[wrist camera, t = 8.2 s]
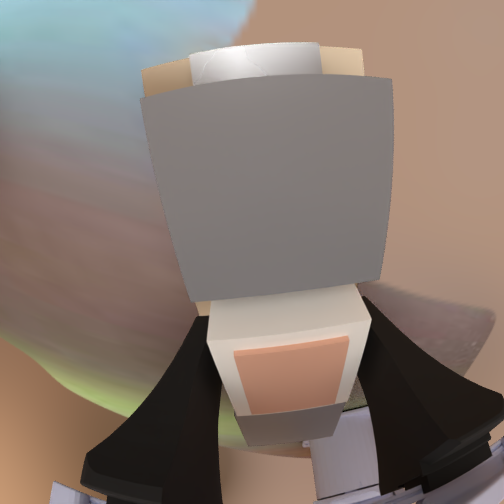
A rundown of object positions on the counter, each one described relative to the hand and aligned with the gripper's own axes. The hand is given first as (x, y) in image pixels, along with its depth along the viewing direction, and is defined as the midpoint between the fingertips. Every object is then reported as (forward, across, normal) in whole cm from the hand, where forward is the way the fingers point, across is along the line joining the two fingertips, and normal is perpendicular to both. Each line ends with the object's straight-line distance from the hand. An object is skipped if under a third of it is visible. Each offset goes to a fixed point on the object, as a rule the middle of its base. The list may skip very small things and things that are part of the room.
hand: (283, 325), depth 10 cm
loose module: (+2, 0, 0) cm, 2 cm away
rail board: (+4, 0, 0) cm, 4 cm away
